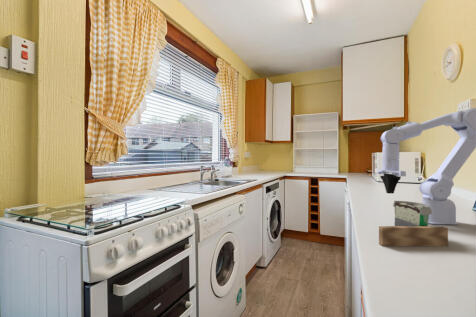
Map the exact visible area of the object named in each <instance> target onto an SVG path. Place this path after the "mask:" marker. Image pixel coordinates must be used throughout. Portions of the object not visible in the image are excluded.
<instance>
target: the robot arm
mask: <svg viewBox="0 0 476 317" xmlns="http://www.w3.org/2000/svg"><path fill="white" fill-rule="evenodd" d="M441 126H445V127H450V128H452V129H453V131H454V132H455V133H456V134H457V135H458V137H459V140H457V142H456V143H455V145H454V146H453V148H452V150H450V152H449V154H448V155H447V156H446V157H445V159H444V160H443V161H442V163H441V165H440V166H439V167H438V169H436V172H434V173H433V174H431V175H430V176H428V178H427V179H425V180H423V181H422V182H421V183H420V184H419V187H418V188H419V191H420V193H421V194H422V195H421V196H422V202H421V203H422V204H426V205H429V207H430V208H431V211H432V214H430V215H429V219H428V224H430V225H459V223H458V222H457V221H456V220H457V207H456V204H455V202H454V201H453V200H451V199H448V198H449V197H450V195H451V194H452V189H453V186H454V178H455V177H456V175H457V174H458V172H459V171H460V169H461V168H462V167H463V166H464V165H465V163H466V161H467V160H468V159H469V157H471V155H472V153H473V152H474V150H476V107H471V108H468V109H466V110H459V111H454V112H450V113H446V114H444V115H440V116H437V117H435V118H432V119H429V120H426V121H423V122H420V123H419V122H417V121H413V122H412V121H408V122H406V123H405V124H404V125H401V126H394V127H392V128H391V129H389V130H385V131H384V132H383V133H382V134H381V136H380V138H379V139H380V142H381V143H382V149H381V150H382V152H381V154H382V158H381V160H382V161H381V169H377V171H376V174H377V175H380V179H381V180H382V182H383V184H384V188H385V192H386V194H394V193H395V190H396V187H397V185H398V182H399V181H400V180H401V178H402V177H406V176H407V171H405V170H400V142H404V141H406V140H409V139H412V138H415V137H418V136H421V135H422V133H423V132H424V131H427V130H430V129H433V128H436V127H441Z"/></svg>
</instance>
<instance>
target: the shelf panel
mask: <svg viewBox="0 0 476 317" xmlns="http://www.w3.org/2000/svg"><path fill="white" fill-rule="evenodd" d="M378 244H379V245H380V246H381V247H449V228H448V227H446V226H442V225H441V226H439V225H438V226H436V225H435V226H433V225H432V226H431V225H430V226H429V225H428V226H395V225H383V226H382V225H380V226H379V225H378Z"/></svg>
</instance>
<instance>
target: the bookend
mask: <svg viewBox="0 0 476 317" xmlns="http://www.w3.org/2000/svg"><path fill="white" fill-rule="evenodd" d="M394 226H419V225H416V224H414V223H411V222H408V221H405V220H402V219H400V218H395V217H394Z"/></svg>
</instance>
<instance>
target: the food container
mask: <svg viewBox="0 0 476 317" xmlns="http://www.w3.org/2000/svg"><path fill="white" fill-rule="evenodd" d="M392 207H394V219H395V218H400V219H402V220H405V221H408V222H411V223H414V224H416V225H419V226H429V223H428V219H429V215H430V214H432V211H431V208H430V207H429V205H426V204H423V202H416V201H415V202H414V201H405V200H394V202H393V203H392Z"/></svg>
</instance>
